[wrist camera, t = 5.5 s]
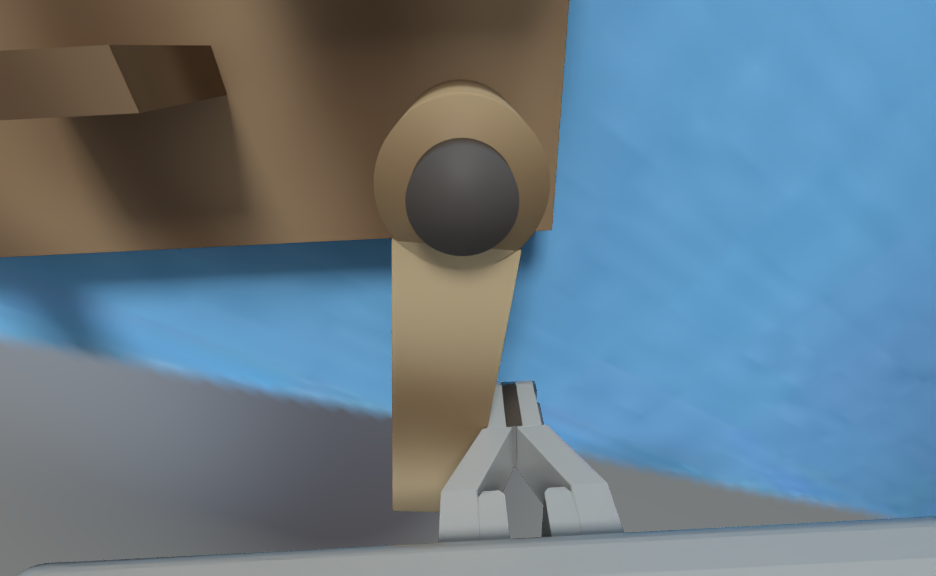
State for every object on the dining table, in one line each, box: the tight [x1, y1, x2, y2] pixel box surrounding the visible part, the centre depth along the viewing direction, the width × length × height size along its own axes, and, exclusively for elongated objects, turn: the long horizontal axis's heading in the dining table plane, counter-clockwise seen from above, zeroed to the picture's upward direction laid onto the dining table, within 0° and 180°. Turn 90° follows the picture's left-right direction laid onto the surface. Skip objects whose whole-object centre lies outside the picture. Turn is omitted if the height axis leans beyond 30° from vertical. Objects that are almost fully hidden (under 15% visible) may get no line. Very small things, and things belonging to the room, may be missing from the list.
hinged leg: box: [374, 79, 550, 512], centre depth 10 cm, size 12×3×4 cm, turn 174°
